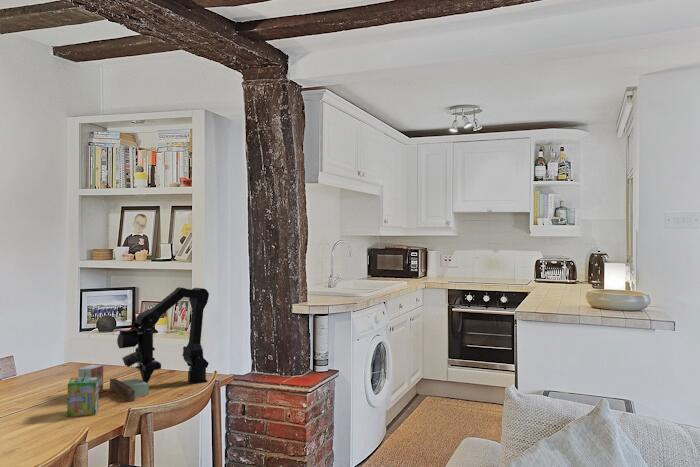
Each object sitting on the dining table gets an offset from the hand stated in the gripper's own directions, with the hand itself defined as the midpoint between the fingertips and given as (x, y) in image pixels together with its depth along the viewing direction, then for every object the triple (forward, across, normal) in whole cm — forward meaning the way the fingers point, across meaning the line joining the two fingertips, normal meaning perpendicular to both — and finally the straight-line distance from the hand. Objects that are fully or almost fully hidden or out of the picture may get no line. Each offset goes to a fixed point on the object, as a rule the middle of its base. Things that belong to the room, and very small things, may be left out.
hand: (145, 384), depth 234 cm
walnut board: (+2, 0, -9) cm, 10 cm away
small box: (+3, -9, -18) cm, 21 cm away
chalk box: (+3, +16, -27) cm, 32 cm away
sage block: (+3, +1, -5) cm, 5 cm away
